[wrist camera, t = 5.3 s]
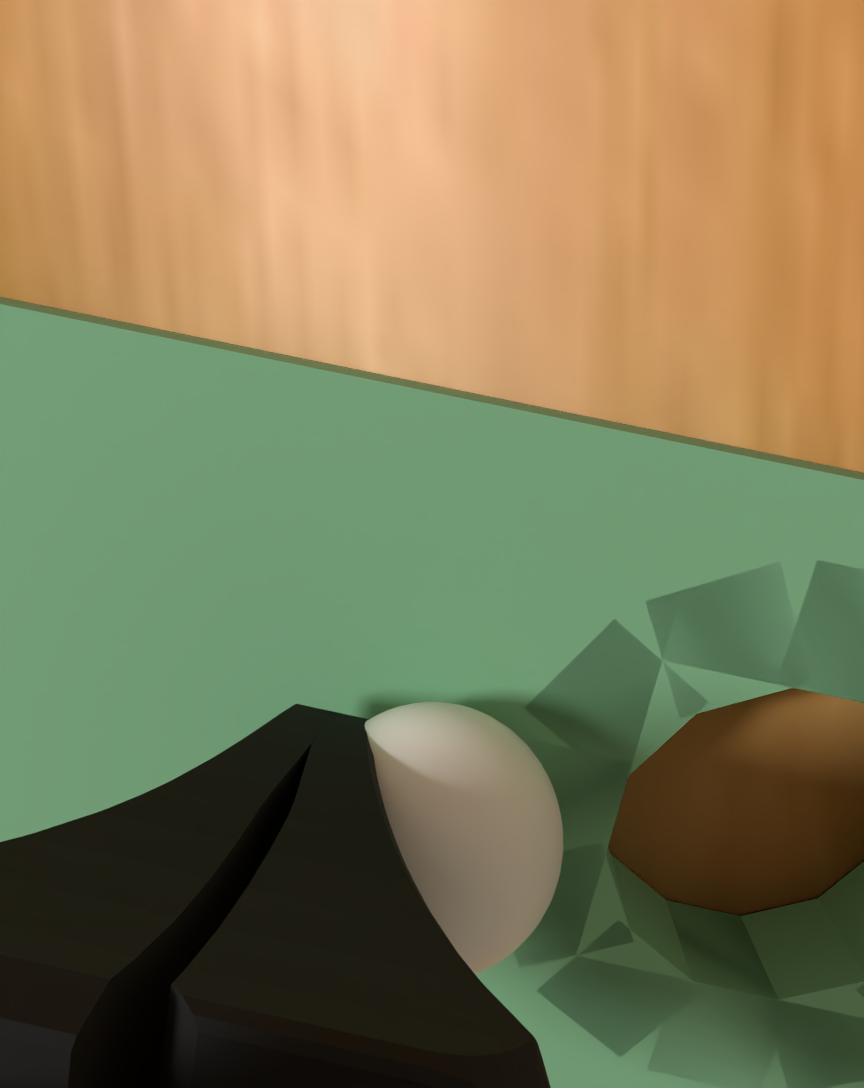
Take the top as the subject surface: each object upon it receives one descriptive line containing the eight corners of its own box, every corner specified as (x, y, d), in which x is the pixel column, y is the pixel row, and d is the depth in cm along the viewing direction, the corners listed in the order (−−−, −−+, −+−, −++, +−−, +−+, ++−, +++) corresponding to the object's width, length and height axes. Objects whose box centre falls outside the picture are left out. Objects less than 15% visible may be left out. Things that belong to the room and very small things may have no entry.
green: (968, 1107, 16) (1339, 1685, 9) (-188, 854, 16) (-680, 1218, 9) (1234, 548, 13) (2096, 771, 6) (-192, 257, 13) (-917, 152, 6)
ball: (313, 1074, 9) (269, 843, 12) (570, 1014, 11) (474, 820, 14) (360, 857, 8) (296, 654, 11) (651, 819, 9) (522, 649, 12)
